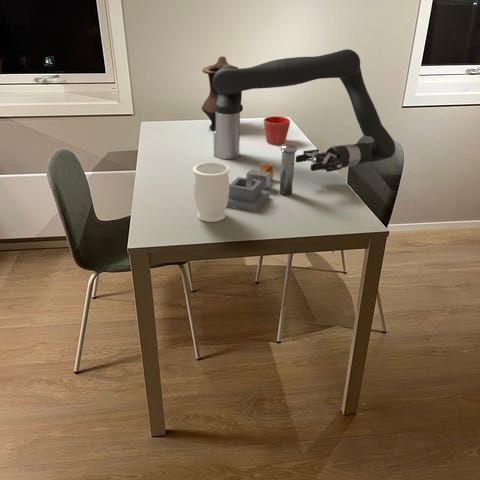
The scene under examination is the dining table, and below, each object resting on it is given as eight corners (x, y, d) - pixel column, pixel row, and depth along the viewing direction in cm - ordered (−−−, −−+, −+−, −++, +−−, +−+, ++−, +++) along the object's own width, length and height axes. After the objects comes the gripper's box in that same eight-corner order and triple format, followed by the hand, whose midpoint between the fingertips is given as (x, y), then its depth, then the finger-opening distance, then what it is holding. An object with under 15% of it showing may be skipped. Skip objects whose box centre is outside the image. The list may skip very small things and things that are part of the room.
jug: (242, 135, 212) (243, 63, 197) (200, 134, 212) (198, 63, 197) (242, 122, 230) (244, 56, 216) (204, 121, 230) (203, 55, 216)
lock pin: (261, 176, 169) (261, 163, 167) (272, 178, 168) (273, 164, 165) (248, 189, 159) (248, 174, 157) (260, 191, 158) (261, 176, 155)
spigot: (276, 195, 156) (278, 147, 148) (280, 189, 160) (283, 142, 152) (290, 197, 154) (294, 149, 147) (295, 192, 159) (299, 145, 151)
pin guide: (246, 187, 161) (246, 173, 158) (250, 183, 164) (250, 169, 161) (265, 191, 159) (266, 176, 156) (269, 187, 162) (270, 172, 159)
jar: (194, 208, 146) (192, 161, 139) (228, 208, 147) (228, 161, 140) (194, 224, 137) (192, 175, 129) (230, 224, 138) (230, 174, 130)
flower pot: (281, 148, 198) (282, 124, 193) (258, 143, 203) (259, 120, 198) (293, 141, 206) (294, 119, 201) (270, 137, 211) (271, 114, 206)
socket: (219, 205, 149) (219, 187, 146) (234, 191, 158) (234, 173, 155) (256, 212, 145) (256, 193, 142) (269, 197, 155) (270, 179, 152)
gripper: (331, 139, 166) (292, 145, 159) (358, 151, 155) (317, 159, 148) (329, 160, 169) (290, 167, 163) (355, 173, 159) (315, 181, 152)
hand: (303, 163), depth 155 cm, fingers open, 8 cm apart
